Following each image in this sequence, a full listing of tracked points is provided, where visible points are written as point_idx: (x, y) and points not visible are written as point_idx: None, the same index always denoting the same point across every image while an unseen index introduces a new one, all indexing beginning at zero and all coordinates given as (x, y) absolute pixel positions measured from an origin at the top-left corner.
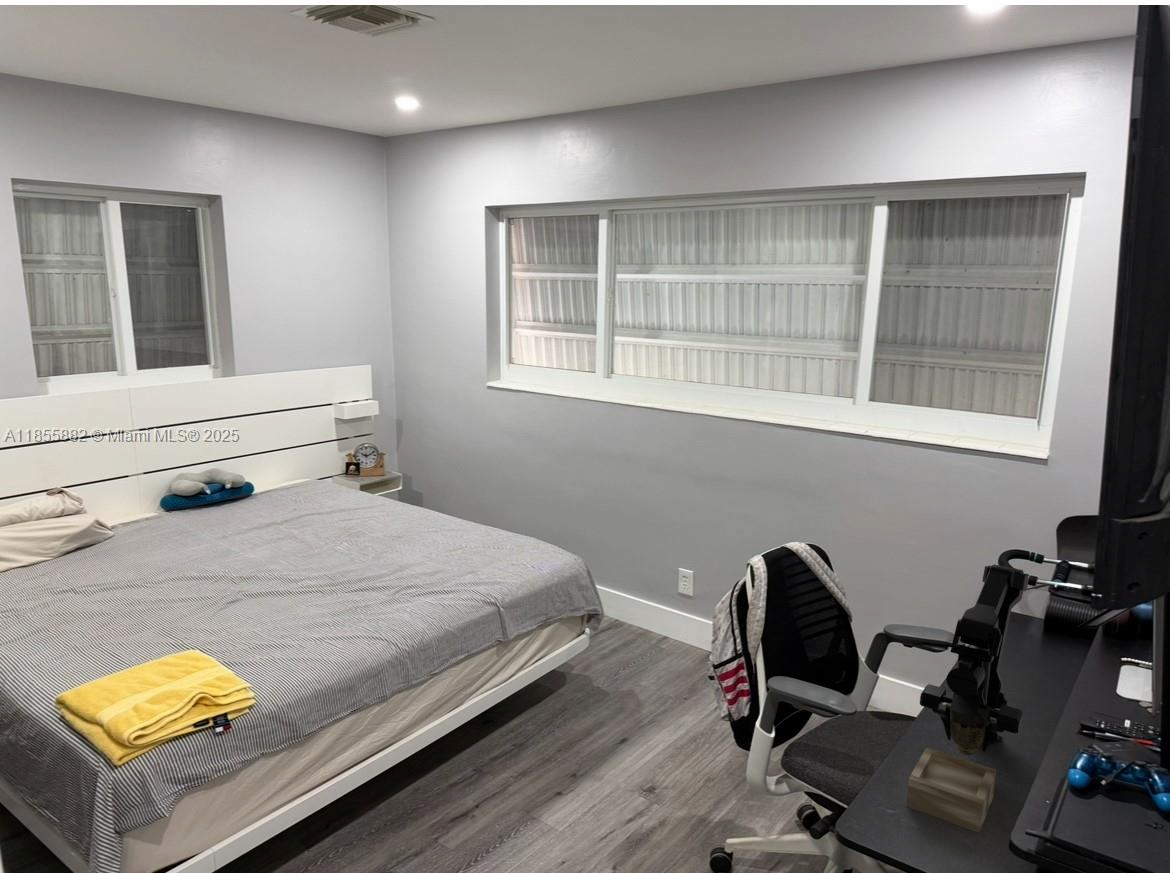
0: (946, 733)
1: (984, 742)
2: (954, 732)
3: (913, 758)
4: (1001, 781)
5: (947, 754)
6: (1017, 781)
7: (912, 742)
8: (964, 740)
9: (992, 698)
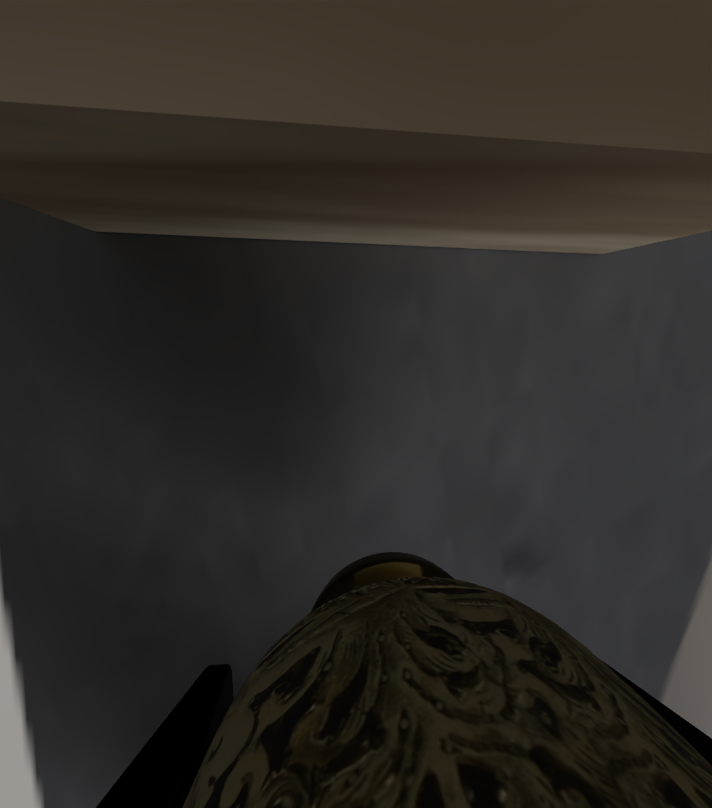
0: (669, 709)
1: (162, 801)
2: (710, 769)
3: (672, 406)
4: (114, 481)
5: (657, 128)
6: (27, 544)
7: (680, 574)
8: (465, 655)
9: None
